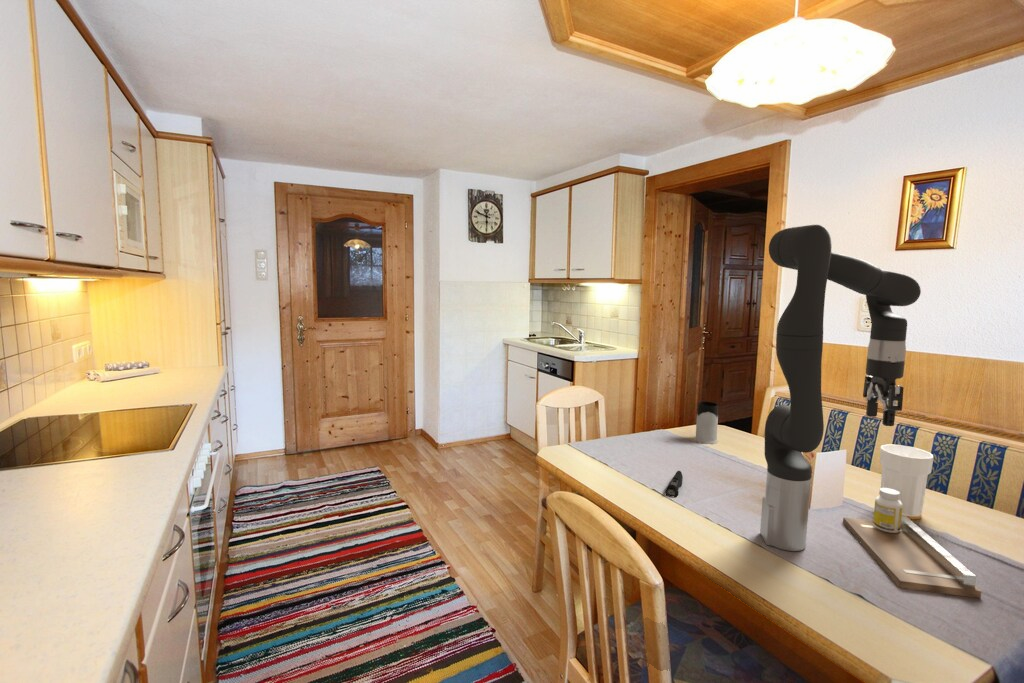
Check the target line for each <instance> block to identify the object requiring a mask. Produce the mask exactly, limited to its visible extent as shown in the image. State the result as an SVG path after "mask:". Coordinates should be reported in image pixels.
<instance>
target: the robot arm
mask: <svg viewBox="0 0 1024 683" xmlns="http://www.w3.org/2000/svg"><path fill="white" fill-rule="evenodd" d="M768 255H769V257H770V259H771V260H772V262H773V263H774V264H776V265H777V266H778V267H780V268H781V267H782V268H786V269H791V270H796V271H797V274H796V275H797V276H796V285H795V290H794V293H793V296H792V298H791V299H790V301H789V303H787V304H788V305H787V306H786V308H785V309H784V311H783V312H782V314H781V316H780V319H778V323H777V326H776V340H775V342H776V343H775V351H776V352H775V353H776V358H777V361H778V364H779V367H780V369H781V372H782V374H783V376H784V378H785V381H786V384H787V386H788V389H789V390H788V391H789V398H790V401H789V402H790V403H789V404H790V405H785V404H782V405H778V406H775V407H774V408H772V410H771V411H770V412H769V413H768V415H767V417H766V420H765V426H764V458H765V461H766V465H767V468H766V469H767V470H766V483H765V496H763V497H762V501H761V502H762V503H761V513H760V514H761V518H760V529H759V530H760V532H759V533H760V536H762V539H763V541H764V542H765V545H768V546H772V547H775V548H778V549H779V550H784V551H789V552H797V551H803V550H804V549H805V548H806V546H807V539H808V538H807V534H808V521H809V510H810V509H809V508H810V499H811V498H810V496H811V489H812V488H811V485H812V473H813V468H812V466H811V464H810V462H808V459H806V458H805V456H804V455H803V453H805V454H808V453H812V452H813V451H816V449H817V448H818V447H819V446H820V444H821V442H822V441H823V436H824V432H825V431H824V430H825V427H824V426H825V424H824V410H823V402H822V401H823V400H822V398H823V397H822V358H823V349H824V348H823V346H824V317H825V316H824V314H825V300H826V290H827V283H828V282H827V281H830V282H833V283H834V284H835V283H836V284H837V285H840V286H843V287H844V288H846V289H849V290H850V291H851V290H852V291H853V292H856V293H858V294H861V295H864V296H865V299H866V304H867V308H868V313H869V314H868V315H869V319H870V323H871V327H870V336H869V343H868V347H867V355H866V362H865V363H866V366H865V374H866V375H865V377H864V383H863V391H862V397H863V398H865V401H866V402H867V403H866V412H865V415H866V416H867V417H871V418H872V417H873V418H876V417H877V416H878V408H879V407H878V406H879V402H880V403H882V406H883V411H882V412H883V413H882V421H881V422H882V425H883V426H885V427H893V426H894V425H895V420H896V419H895V418H896V412H898V411H900V412H901V411H902V410H903V403H904V400H903V399H904V389H905V388H904V386H903V385H897V383H896V380H897V379H902V378H903V377H904V372H905V364H906V363H905V362H906V354H907V346H906V343H907V342H906V340H907V331H908V320H907V319H906V318H905V317H903V316H900V315H897V314H895V313H894V312H893V310H892V307H907V306H911V305H913V304H914V303H916V302H917V301H918V299H919V298H920V296H921V294H922V292H921V291H922V290H921V286H920V284H919V283H918V281H917V280H916V279H914V278H913V277H911V276H909V275H906V274H905V273H904V274H903V273H899V272H897V271H896V272H895V271H892V270H887V269H882V268H880V267H879V266H876V265H875V264H872V263H871V262H868V261H866V260H864V259H860V258H857V257H854V256H851V255H847V254H841V253H837V252H832V237H831V234H830V232H829V231H828V229H827V228H826V227H825V226H823V225H821V224H809V225H801V226H800V225H799V226H793V227H788V228H787V227H786V228H783V229H781V230H779V231H777V232H776V233H775V234H773V236H772V237H771V239H770V241H769V245H768Z"/></svg>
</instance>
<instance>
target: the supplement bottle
mask: <svg viewBox="0 0 1024 683" xmlns="http://www.w3.org/2000/svg"><path fill="white" fill-rule="evenodd" d="M878 494H879V495H878V496H876V497H875V500H874V508H873V510H874V511H873V525H874V526H875V527H876V528H878V529H879V530H882V531H885V532H889V533H897V532H899V531H900V527H901V516H902V503H901V501H899V500H898V499H899V498H900V493H899V492H898V491H896V490H894V489H890V488H881V487H880V488H879V492H878Z"/></svg>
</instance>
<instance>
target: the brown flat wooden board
mask: <svg viewBox="0 0 1024 683" xmlns="http://www.w3.org/2000/svg"><path fill="white" fill-rule="evenodd" d="M873 520H874V519H873ZM873 520H871V519H863V518H854V517H843V518H842V523H843V525H844V526H845V527H846V528H847V529H848V530H849V532H850V533H851V532H852V533H853V534H852V533H851V534H852V535H853V536H854V537H855V538H856V540H857V541H858V540H859V541H860V542H861V543H860V542H859V541H858V542H859V543H860V545H862V546H863V547H864V549H865V550H866V551H867V552H868V553H869V555H871V556H873V559H874V560H875V562H877V564H878V565H879V566H880V567H881V568H882V570H884V571H885V573H886V572H887V573H886V574H887V575H888V576H889V577H890V579H891V580H892V581H893V582H894V583H895V584H896V586H898V587H899V588H901V589H907V588H908V589H909V590H915V589H916V591H922V590H923V591H925V592H930V591H931V592H930V593H938V594H947V595H954V596H960V597H969V598H977V599H981V597H982V590H981V589H980V588H979V587H977V586H976V585H975V588H972V587H964V586H962V585H961V584H960V583H959V582H958V581H957V580H956V579H955V578H954V577H953V576H952V575H950V574H949V573H948V572H947V571H946V570H945V569H944V568H943V567H942V566H941V565H939V564H938V563H937V562H936V561H935V560H934V559H933V558H932V557H931V556H930V555H929V554H928V553H926V552H925V551H924V550H923V549H922V548H921V547H920V546H919V545H918V544H917V543H916V542H914V541H913V540H912V539H911V538H910V537H909V536H908V535H907V534H906V533H905V532H904V531H903V530H902V529H900V531H899V532H897V533H889V532H885V531H882V530H879V529H878V528H876V527H875V526H874V525H873Z"/></svg>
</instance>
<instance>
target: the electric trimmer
mask: <svg viewBox="0 0 1024 683" xmlns="http://www.w3.org/2000/svg"><path fill="white" fill-rule="evenodd" d="M683 476H684V475H683V474H682V471H681V470H677V471H676V472H675V474H673V477H672V478H671V480H670V481H669V483H668V484H667V486H666V488H665V490H664V491H665V492H664V495H665V494H666V495H665V496H666V497H670V496H674V497H673V498H675V497H676V498H677V496H679V489H680V487H682V486H683Z"/></svg>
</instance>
